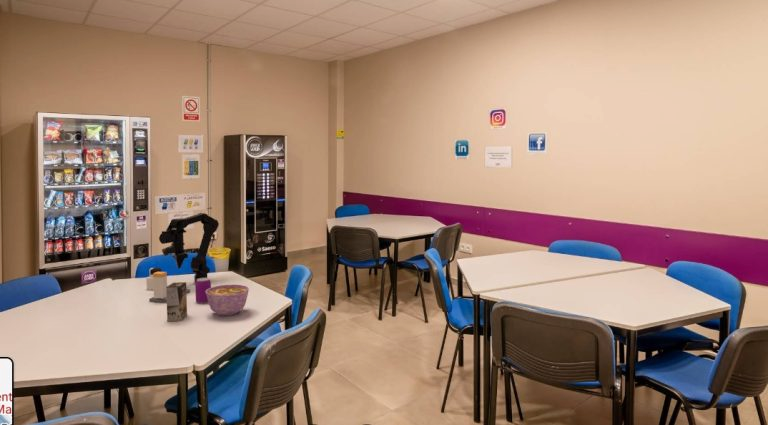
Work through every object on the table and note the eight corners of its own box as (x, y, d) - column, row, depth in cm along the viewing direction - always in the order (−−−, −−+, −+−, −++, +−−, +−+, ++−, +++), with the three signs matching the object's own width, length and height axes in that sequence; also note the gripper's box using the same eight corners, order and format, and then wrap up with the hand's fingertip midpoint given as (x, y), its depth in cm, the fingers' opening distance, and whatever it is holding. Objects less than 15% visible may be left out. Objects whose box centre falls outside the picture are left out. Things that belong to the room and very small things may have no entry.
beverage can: (214, 300, 255) (214, 278, 254) (203, 304, 248) (202, 281, 247) (203, 298, 258) (203, 276, 257) (192, 302, 251) (191, 280, 250)
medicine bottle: (165, 287, 280) (164, 266, 279) (158, 290, 273) (157, 269, 272) (153, 286, 281) (152, 266, 279) (146, 290, 274) (145, 269, 272)
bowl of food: (215, 306, 246) (214, 283, 245) (254, 307, 245) (254, 284, 244) (199, 319, 226) (198, 295, 225) (241, 320, 225) (241, 296, 224)
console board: (173, 291, 272) (173, 288, 272) (190, 292, 271) (189, 289, 270) (149, 301, 252) (149, 298, 252) (166, 303, 250) (166, 299, 250)
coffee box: (181, 321, 223) (180, 287, 221) (166, 321, 222) (165, 287, 221) (187, 314, 232) (186, 282, 230) (173, 315, 232) (172, 282, 230)
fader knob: (158, 295, 255) (158, 271, 254) (167, 296, 255) (166, 272, 253) (154, 297, 252) (153, 273, 250) (162, 298, 251) (161, 273, 249)
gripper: (159, 240, 277) (160, 266, 278) (166, 245, 261) (167, 273, 263) (180, 238, 283) (181, 264, 285) (187, 243, 268) (188, 271, 269)
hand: (179, 268), depth 275 cm, fingers closed
